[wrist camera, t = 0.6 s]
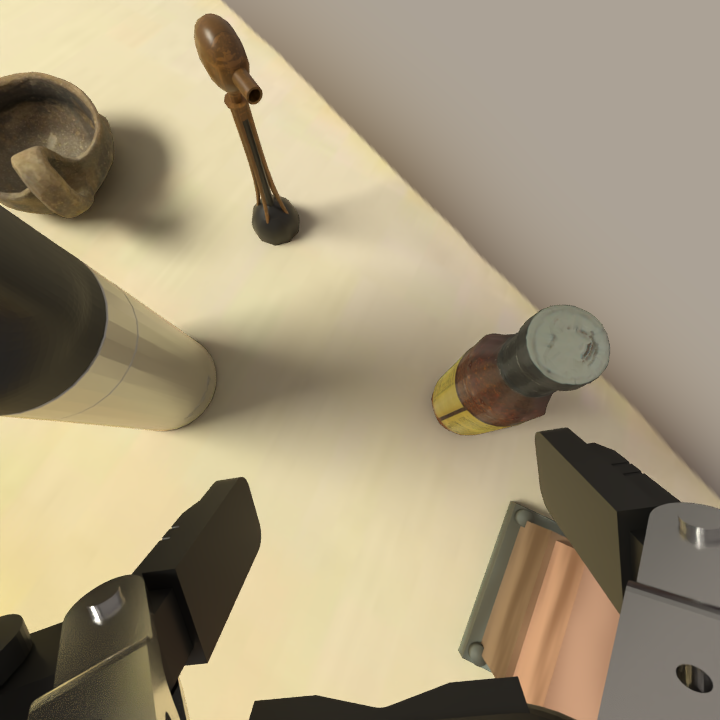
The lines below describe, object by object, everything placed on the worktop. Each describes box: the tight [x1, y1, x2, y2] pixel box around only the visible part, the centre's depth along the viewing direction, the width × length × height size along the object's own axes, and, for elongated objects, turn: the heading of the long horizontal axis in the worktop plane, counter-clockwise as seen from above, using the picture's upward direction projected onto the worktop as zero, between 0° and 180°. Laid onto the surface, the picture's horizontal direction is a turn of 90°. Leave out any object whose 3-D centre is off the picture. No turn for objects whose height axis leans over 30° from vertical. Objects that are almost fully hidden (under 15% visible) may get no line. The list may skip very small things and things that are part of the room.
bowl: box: [0, 72, 114, 218], centre depth 37 cm, size 14×18×10 cm
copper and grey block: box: [458, 501, 620, 720], centre depth 29 cm, size 13×13×10 cm
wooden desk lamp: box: [194, 13, 299, 245], centre depth 31 cm, size 6×5×20 cm
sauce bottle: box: [432, 305, 610, 435], centre depth 28 cm, size 7×6×20 cm
